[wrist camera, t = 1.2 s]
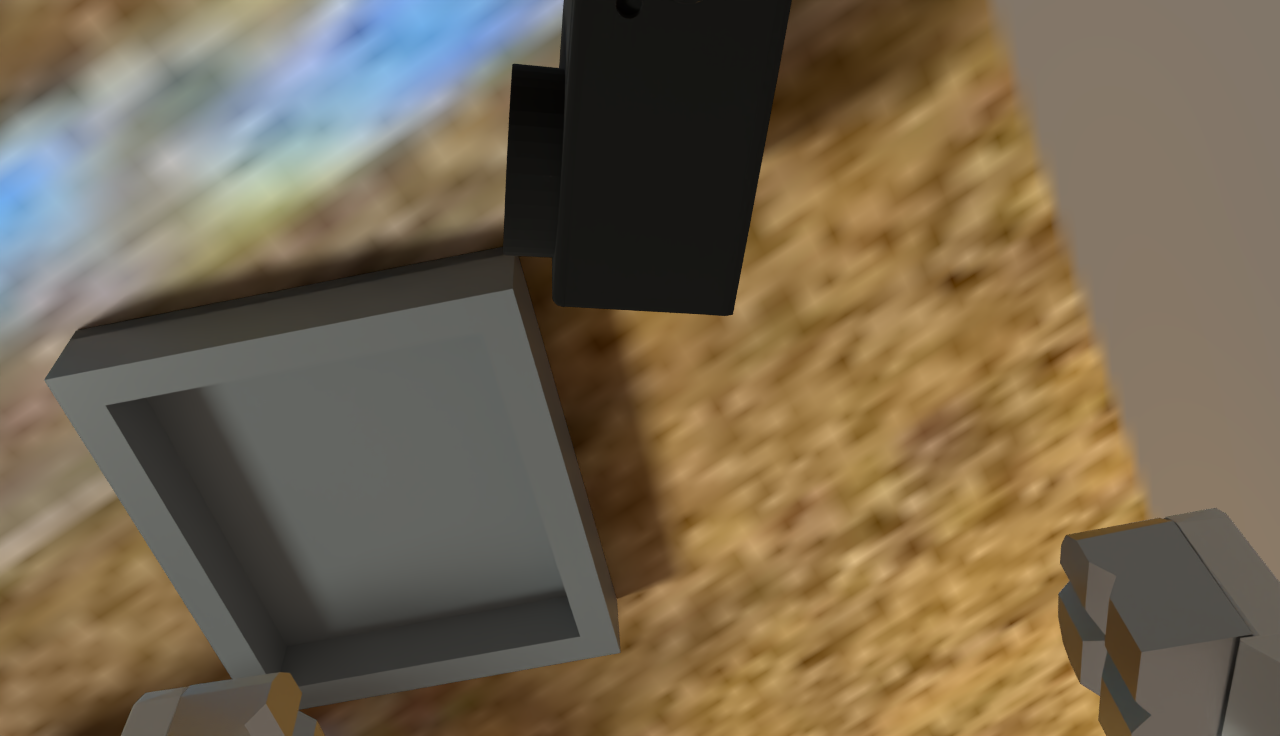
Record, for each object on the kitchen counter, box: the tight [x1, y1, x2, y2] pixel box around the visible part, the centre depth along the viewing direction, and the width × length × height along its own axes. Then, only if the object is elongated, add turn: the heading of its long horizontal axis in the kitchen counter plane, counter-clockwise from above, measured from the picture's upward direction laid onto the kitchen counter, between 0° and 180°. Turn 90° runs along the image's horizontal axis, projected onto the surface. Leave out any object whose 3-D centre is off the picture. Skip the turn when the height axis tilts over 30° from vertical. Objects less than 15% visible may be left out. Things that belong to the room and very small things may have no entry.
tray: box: [45, 247, 620, 710], centre depth 36 cm, size 15×13×2 cm
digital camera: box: [503, 0, 792, 316], centre depth 25 cm, size 10×5×7 cm, turn 174°
